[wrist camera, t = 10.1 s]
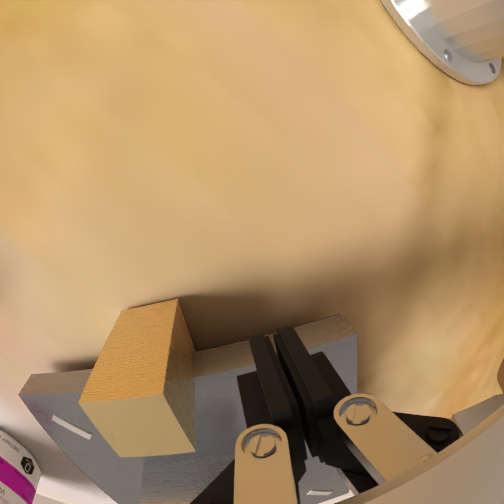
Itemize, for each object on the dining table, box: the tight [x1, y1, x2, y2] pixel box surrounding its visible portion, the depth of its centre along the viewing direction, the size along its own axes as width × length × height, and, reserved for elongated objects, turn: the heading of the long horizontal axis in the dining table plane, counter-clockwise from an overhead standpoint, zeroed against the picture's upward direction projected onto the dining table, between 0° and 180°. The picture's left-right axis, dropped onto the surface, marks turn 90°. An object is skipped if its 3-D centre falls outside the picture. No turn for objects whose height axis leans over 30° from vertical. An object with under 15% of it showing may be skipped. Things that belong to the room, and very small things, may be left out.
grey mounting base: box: [18, 299, 357, 504], centre depth 13 cm, size 18×20×7 cm
